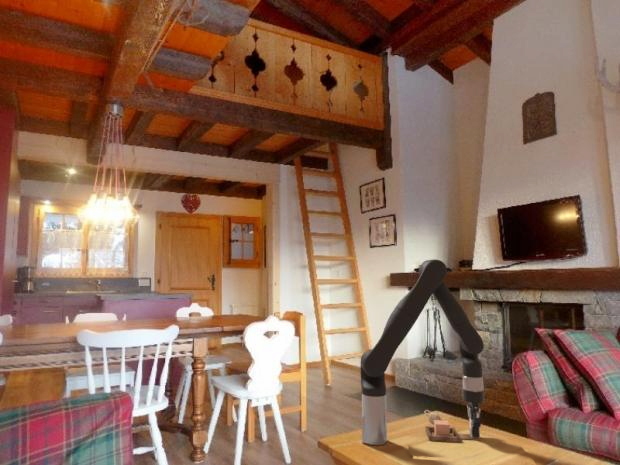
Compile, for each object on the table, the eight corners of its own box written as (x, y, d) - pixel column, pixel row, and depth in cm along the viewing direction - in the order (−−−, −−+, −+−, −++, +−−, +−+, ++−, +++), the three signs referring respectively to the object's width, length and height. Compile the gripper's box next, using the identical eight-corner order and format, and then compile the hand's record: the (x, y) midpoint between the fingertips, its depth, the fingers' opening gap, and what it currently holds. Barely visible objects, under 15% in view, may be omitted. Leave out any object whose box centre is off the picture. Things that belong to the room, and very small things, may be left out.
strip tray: (429, 442, 161) (428, 422, 162) (425, 432, 172) (425, 413, 172) (482, 445, 158) (481, 425, 159) (475, 435, 169) (474, 415, 170)
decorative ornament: (437, 429, 177) (437, 415, 177) (423, 423, 184) (423, 410, 185) (445, 427, 179) (444, 414, 179) (430, 421, 186) (430, 408, 186)
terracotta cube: (436, 438, 163) (435, 424, 164) (434, 433, 168) (434, 420, 169) (449, 438, 163) (449, 424, 163) (447, 434, 168) (447, 420, 168)
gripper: (459, 383, 173) (460, 428, 171) (466, 392, 159) (468, 441, 158) (478, 384, 172) (480, 429, 170) (488, 393, 158) (490, 442, 157)
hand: (474, 434), depth 164 cm, fingers closed on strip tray, 3 cm apart
